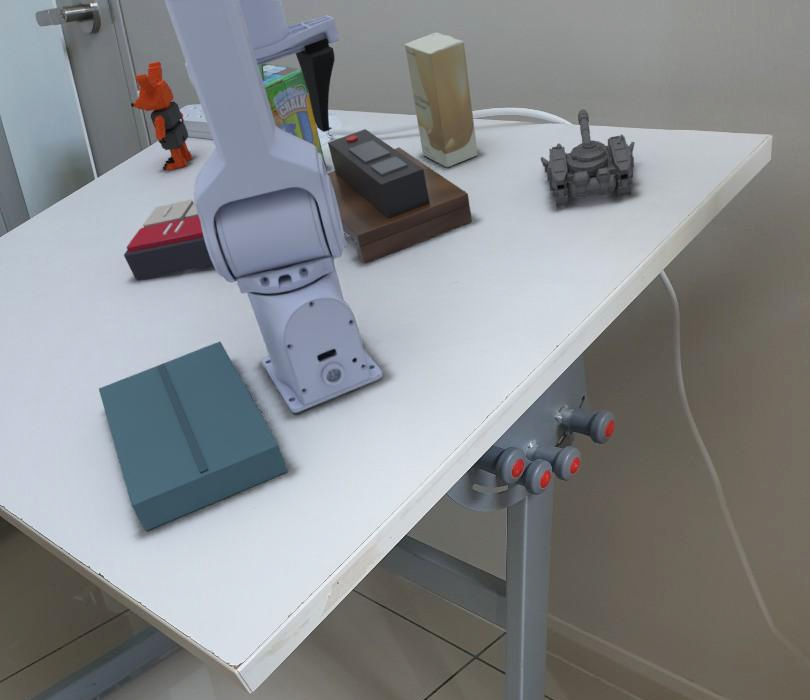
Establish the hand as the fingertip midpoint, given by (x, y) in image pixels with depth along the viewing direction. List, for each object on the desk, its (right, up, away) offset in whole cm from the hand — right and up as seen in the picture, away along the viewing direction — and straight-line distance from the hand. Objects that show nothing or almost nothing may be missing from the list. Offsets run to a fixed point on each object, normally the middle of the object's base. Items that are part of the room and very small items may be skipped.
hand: (288, 141), depth 87 cm
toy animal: (-20, +12, +33) cm, 40 cm away
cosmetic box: (+17, +5, +15) cm, 23 cm away
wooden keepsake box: (+10, -5, +6) cm, 13 cm away
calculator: (-10, -8, +9) cm, 15 cm away
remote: (+9, -3, +4) cm, 10 cm away
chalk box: (-4, +5, +21) cm, 22 cm away
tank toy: (+31, -3, +2) cm, 31 cm away
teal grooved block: (-5, -32, -17) cm, 37 cm away
